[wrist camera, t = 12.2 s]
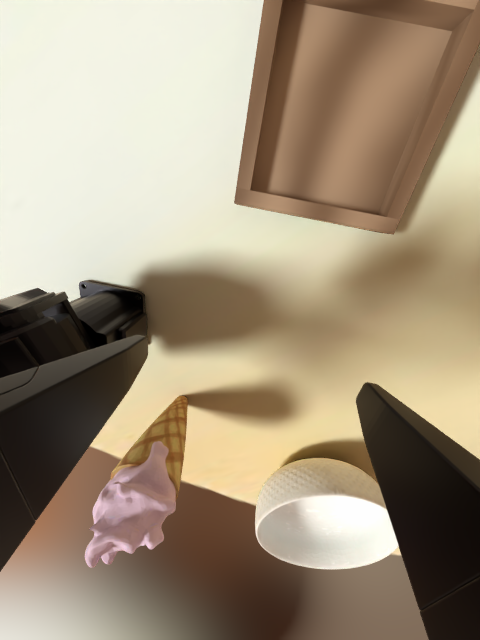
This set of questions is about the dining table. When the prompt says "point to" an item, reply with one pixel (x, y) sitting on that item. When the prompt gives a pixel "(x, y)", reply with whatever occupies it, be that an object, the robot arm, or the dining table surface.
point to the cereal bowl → (323, 516)
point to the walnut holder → (350, 104)
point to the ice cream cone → (141, 489)
